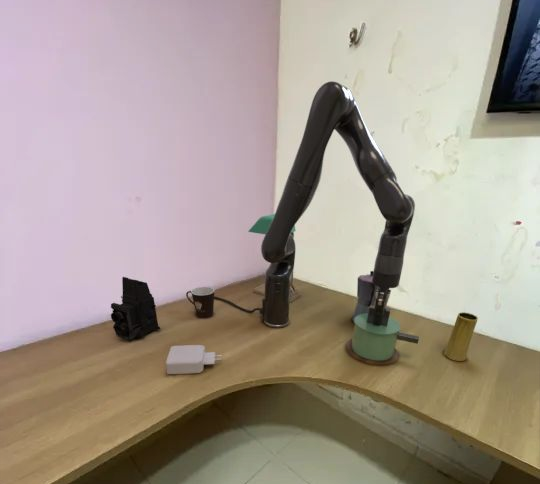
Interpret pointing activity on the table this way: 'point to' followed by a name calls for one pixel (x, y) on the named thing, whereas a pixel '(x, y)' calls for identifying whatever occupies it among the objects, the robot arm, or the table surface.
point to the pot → (377, 336)
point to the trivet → (368, 361)
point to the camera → (134, 311)
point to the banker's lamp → (262, 228)
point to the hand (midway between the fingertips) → (377, 321)
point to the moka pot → (365, 294)
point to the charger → (189, 359)
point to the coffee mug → (203, 301)
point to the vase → (461, 336)
